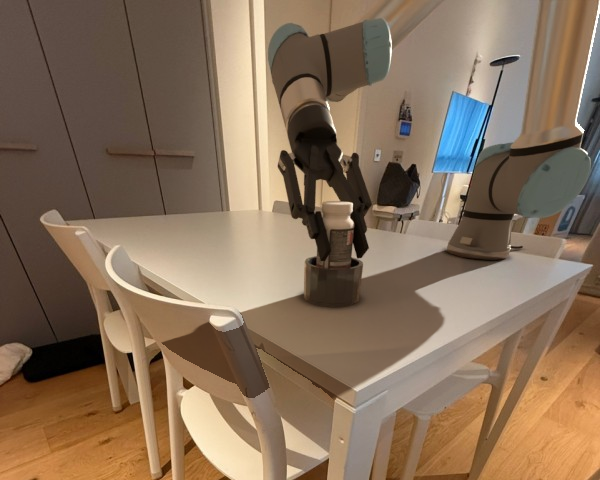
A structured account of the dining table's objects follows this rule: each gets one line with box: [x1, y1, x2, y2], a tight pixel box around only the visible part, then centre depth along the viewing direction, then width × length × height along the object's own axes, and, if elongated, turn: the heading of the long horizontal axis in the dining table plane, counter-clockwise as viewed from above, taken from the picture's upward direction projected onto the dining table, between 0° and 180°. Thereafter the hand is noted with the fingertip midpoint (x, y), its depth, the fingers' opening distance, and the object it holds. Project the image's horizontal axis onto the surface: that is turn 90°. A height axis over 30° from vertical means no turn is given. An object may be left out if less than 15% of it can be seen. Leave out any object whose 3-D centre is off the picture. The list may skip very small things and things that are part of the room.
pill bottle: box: [316, 200, 354, 269], centre depth 53 cm, size 6×6×10 cm
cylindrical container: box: [303, 255, 364, 308], centre depth 57 cm, size 10×10×6 cm
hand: (344, 254), depth 52 cm, fingers closed on pill bottle, 6 cm apart
